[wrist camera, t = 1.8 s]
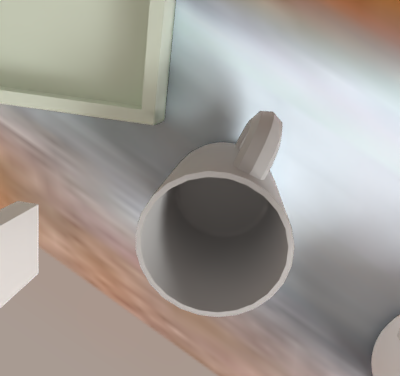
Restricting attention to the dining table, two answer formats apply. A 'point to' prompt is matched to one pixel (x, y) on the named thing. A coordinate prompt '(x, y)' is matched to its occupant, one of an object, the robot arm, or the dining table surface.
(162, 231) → the cup
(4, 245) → the robot arm
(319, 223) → the dining table surface
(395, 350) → the cup
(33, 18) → the tray
